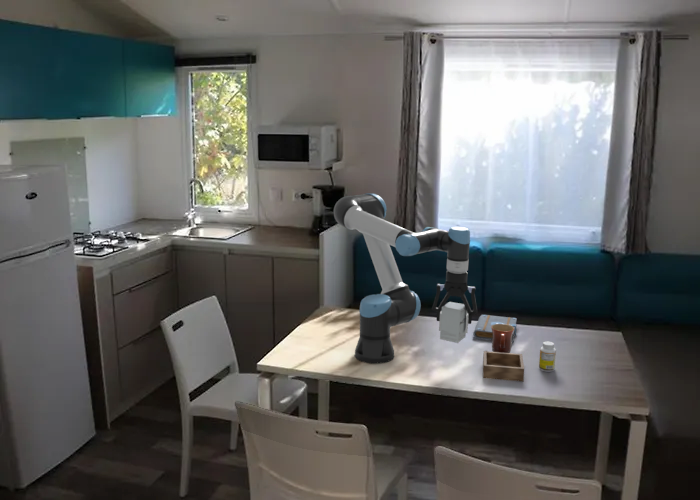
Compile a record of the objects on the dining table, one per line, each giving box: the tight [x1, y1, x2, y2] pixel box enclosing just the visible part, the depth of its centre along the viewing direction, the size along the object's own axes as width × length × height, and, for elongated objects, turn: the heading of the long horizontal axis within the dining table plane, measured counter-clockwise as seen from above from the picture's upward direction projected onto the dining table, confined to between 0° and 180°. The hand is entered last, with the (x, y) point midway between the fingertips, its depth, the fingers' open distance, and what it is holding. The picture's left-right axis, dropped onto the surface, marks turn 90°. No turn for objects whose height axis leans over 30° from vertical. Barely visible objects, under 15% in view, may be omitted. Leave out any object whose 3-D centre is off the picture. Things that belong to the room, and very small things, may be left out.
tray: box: [482, 350, 525, 382], centre depth 240 cm, size 14×14×5 cm
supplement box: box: [439, 301, 468, 344], centre depth 240 cm, size 7×7×13 cm
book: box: [472, 314, 517, 344], centre depth 282 cm, size 21×16×5 cm
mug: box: [491, 324, 514, 353], centre depth 257 cm, size 12×9×10 cm
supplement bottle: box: [538, 340, 557, 373], centre depth 243 cm, size 6×6×10 cm
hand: (453, 330), depth 240 cm, fingers closed on supplement box, 9 cm apart
